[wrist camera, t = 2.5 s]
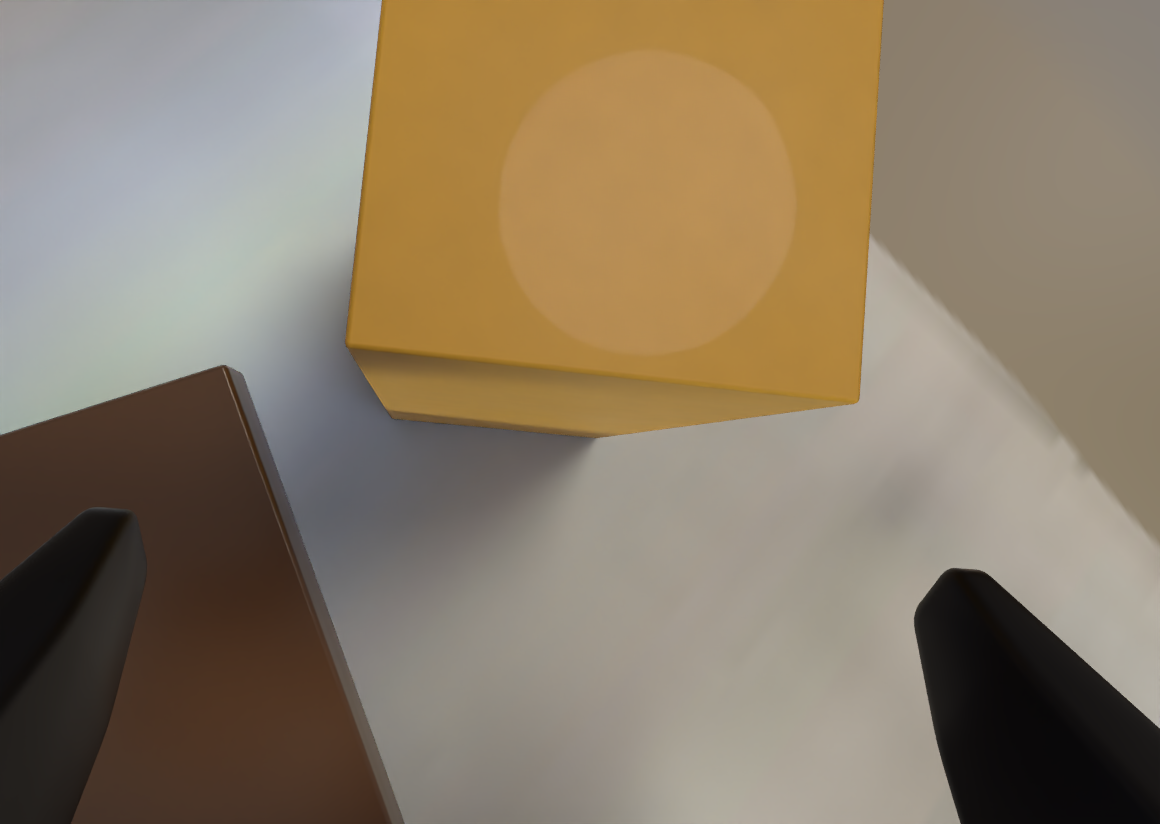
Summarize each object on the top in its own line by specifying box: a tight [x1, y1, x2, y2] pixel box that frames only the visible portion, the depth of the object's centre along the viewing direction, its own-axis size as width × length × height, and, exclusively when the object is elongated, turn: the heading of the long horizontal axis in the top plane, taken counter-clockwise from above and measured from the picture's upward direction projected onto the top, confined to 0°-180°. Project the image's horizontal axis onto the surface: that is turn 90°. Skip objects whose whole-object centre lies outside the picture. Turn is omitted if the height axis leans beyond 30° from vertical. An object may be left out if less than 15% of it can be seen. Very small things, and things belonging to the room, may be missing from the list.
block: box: [345, 0, 884, 438], centre depth 14 cm, size 5×5×12 cm
